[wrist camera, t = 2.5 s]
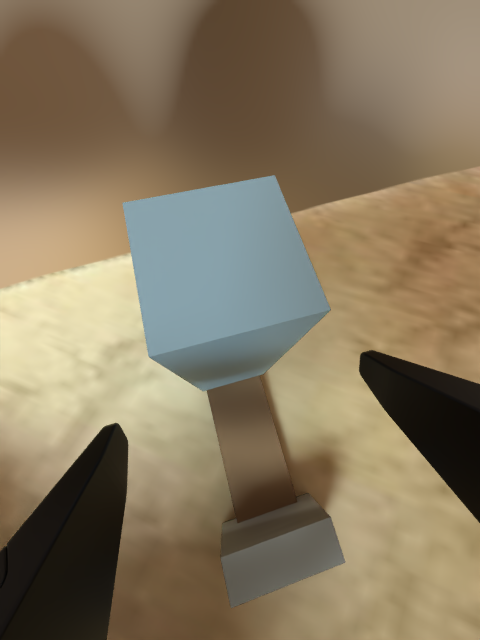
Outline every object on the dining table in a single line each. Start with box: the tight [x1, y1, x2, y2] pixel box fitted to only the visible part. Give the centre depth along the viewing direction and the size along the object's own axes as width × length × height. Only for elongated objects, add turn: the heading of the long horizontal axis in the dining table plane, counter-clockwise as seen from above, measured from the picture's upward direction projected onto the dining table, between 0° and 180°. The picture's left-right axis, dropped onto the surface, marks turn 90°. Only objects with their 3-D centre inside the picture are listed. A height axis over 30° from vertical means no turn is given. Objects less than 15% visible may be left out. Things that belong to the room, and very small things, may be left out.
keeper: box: [123, 176, 331, 391], centre depth 13 cm, size 4×4×13 cm
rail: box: [207, 375, 345, 608], centre depth 17 cm, size 18×6×4 cm, turn 16°
